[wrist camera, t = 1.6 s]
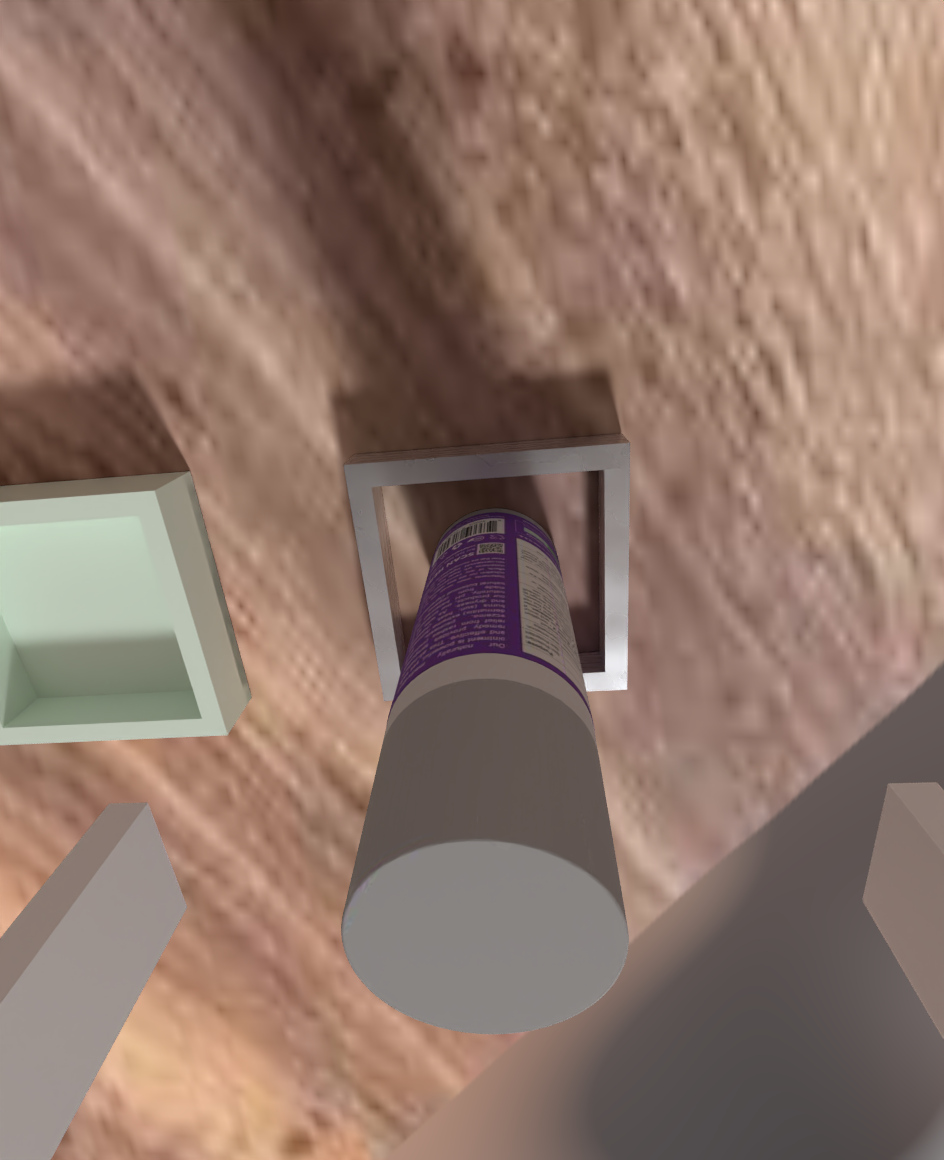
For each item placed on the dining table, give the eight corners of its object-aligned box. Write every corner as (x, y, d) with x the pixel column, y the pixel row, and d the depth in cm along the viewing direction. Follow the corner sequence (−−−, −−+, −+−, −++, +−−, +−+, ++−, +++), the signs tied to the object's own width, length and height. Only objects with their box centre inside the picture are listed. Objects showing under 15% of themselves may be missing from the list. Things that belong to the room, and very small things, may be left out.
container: (424, 612, 24) (322, 1016, 11) (442, 496, 22) (345, 807, 9) (544, 633, 24) (595, 1059, 11) (572, 519, 22) (677, 860, 9)
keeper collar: (390, 679, 26) (384, 701, 24) (353, 454, 22) (343, 465, 21) (620, 667, 25) (627, 689, 23) (621, 433, 21) (630, 442, 20)
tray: (34, 707, 27) (-9, 745, 25) (-61, 491, 23) (-123, 511, 21) (251, 697, 26) (227, 735, 24) (190, 471, 22) (154, 490, 20)
